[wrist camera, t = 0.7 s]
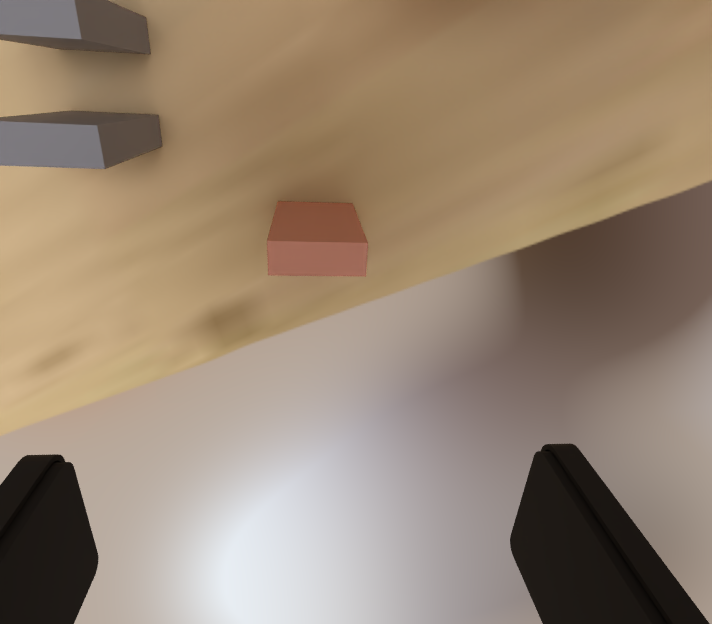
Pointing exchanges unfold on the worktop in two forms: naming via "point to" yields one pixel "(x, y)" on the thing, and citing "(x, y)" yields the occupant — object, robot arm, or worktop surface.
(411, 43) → the worktop surface
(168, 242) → the worktop surface
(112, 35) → the domino
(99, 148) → the domino
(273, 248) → the red domino
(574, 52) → the worktop surface
